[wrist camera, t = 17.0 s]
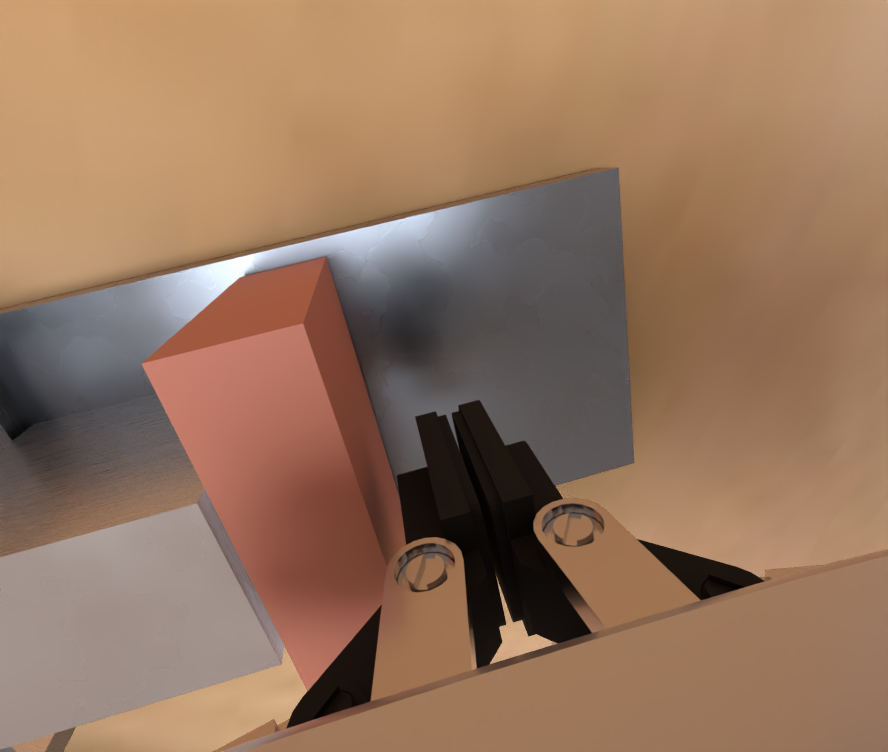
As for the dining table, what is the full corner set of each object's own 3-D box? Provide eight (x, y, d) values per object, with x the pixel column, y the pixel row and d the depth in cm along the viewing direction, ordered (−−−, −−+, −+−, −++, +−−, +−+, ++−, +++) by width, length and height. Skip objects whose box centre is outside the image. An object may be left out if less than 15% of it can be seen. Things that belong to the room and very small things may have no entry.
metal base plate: (615, 443, 21) (773, 605, 13) (87, 593, 19) (-97, 883, 11) (595, 168, 16) (821, 159, 8) (-98, 331, 14) (-622, 512, 7)
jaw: (406, 522, 18) (436, 712, 12) (330, 544, 18) (318, 749, 11) (325, 256, 14) (302, 323, 8) (225, 280, 14) (114, 370, 7)
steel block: (308, 481, 17) (281, 664, 11) (105, 536, 16) (-52, 765, 10) (262, 366, 15) (197, 503, 9) (33, 424, 15) (-215, 616, 8)
